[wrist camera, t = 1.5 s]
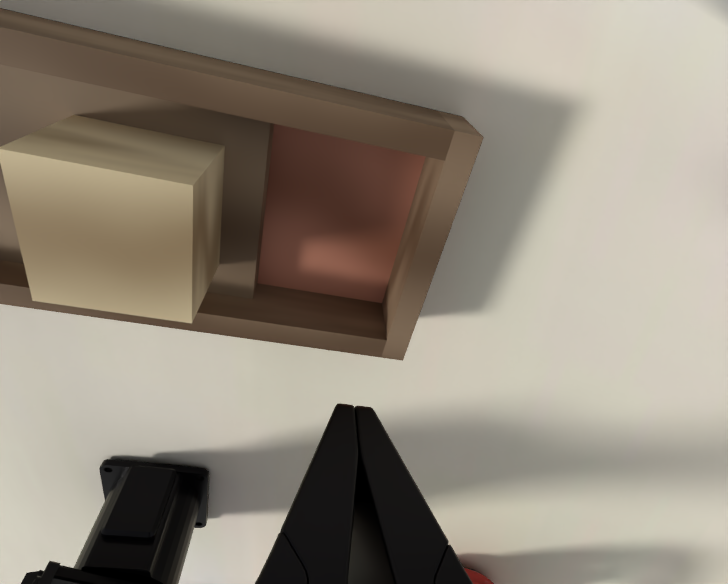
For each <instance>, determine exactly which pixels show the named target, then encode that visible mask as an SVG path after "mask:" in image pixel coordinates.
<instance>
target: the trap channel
mask: <svg viewBox="0 0 728 584" xmlns="http://www.w3.org/2000/svg"><path fill="white" fill-rule="evenodd" d="M72 115H77V116H82V117H87V118H92V119H97V120H102V121H107V122H112V123H116V124H121V125H126V126H131V127H136V128H141V129H146V130H151V131H155V132H160V133H165V134H170V135H175V136H180V137H185V138H189V139H194V140H199V141H204V142H209V143H214V144H219V145H224V146H225V152H224V174H223V195H222V216H221V237H220V258H219V266H218V268H217V270H216V273H215V275H214V277H213V279H212V281H211V283H210V285H209V288H208V290H207V292H206V294H205V296H204V298H203V301H202V303H201V305H200V307H199V309H198V311H197V313H196V316H195V318H194V320H193V322H192V323H185V322H178V321H171V320H164V319H157V318H150V317H143V316H136V315H129V314H122V313H115V312H108V311H101V310H94V309H87V308H80V307H73V306H66V305H59V304H52V303H45V302H38V301H33V300H32V296H31V292H30V288H29V283H28V279H27V275H26V271H25V266H24V262H23V258H22V253H21V249H20V245H19V241H18V236H17V232H16V228H15V224H14V219H13V215H12V211H11V207H10V202H9V198H8V194H7V189H6V185H5V181H4V177H3V172H2V168H1V164H0V304H5V305H12V306H20V307H27V308H34V309H41V310H48V311H55V312H62V313H69V314H77V315H84V316H91V317H98V318H105V319H112V320H119V321H126V322H133V323H141V324H148V325H155V326H162V327H169V328H176V329H183V330H190V331H197V332H205V333H212V334H219V335H226V336H233V337H240V338H247V339H254V340H262V341H269V342H276V343H283V344H290V345H297V346H304V347H311V348H318V349H326V350H333V351H340V352H347V353H354V354H361V355H368V356H375V357H382V358H390V359H397V360H403V358H404V356H405V353H406V350H407V347H408V344H409V342H410V339H411V336H412V333H413V331H414V328H415V325H416V322H417V320H418V317H419V314H420V311H421V309H422V306H423V303H424V300H425V298H426V295H427V292H428V289H429V287H430V284H431V281H432V278H433V275H434V273H435V270H436V267H437V264H438V262H439V259H440V256H441V253H442V251H443V248H444V245H445V242H446V240H447V237H448V234H449V231H450V229H451V226H452V223H453V220H454V217H455V215H456V212H457V209H458V206H459V204H460V201H461V198H462V195H463V193H464V190H465V187H466V184H467V182H468V179H469V176H470V173H471V171H472V168H473V165H474V162H475V160H476V157H477V154H478V151H479V148H480V146H481V143H482V140H483V136H482V135H481V134H480V133H479V132H478V131H477V130H476V129H475V128H474V127H473V126H472V125H471V124H470V123H469V122H468V121H467V120H466V119H465V118H464V117H462V116H458V115H453V114H449V113H445V112H440V111H436V110H432V109H428V108H423V107H419V106H415V105H411V104H406V103H402V102H398V101H394V100H389V99H385V98H381V97H377V96H372V95H368V94H364V93H359V92H355V91H351V90H347V89H342V88H338V87H334V86H330V85H325V84H321V83H317V82H313V81H308V80H304V79H300V78H295V77H291V76H287V75H283V74H278V73H274V72H270V71H266V70H261V69H257V68H253V67H249V66H244V65H240V64H236V63H232V62H227V61H223V60H219V59H214V58H210V57H206V56H202V55H197V54H193V53H189V52H185V51H180V50H176V49H172V48H168V47H163V46H159V45H155V44H150V43H146V42H142V41H138V40H133V39H129V38H125V37H121V36H116V35H112V34H108V33H104V32H99V31H95V30H91V29H87V28H82V27H78V26H74V25H69V24H65V23H61V22H57V21H52V20H48V19H44V18H40V17H35V16H31V15H27V14H23V13H18V12H14V11H10V10H6V9H1V8H0V147H1V146H3V145H6V144H8V143H10V142H12V141H15V140H17V139H19V138H22V137H24V136H26V135H29V134H31V133H33V132H36V131H38V130H40V129H42V128H45V127H47V126H49V125H52V124H54V123H56V122H59V121H61V120H63V119H66V118H68V117H70V116H72Z"/></svg>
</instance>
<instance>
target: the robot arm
mask: <svg viewBox="0 0 728 584" xmlns="http://www.w3.org/2000/svg"><path fill="white" fill-rule="evenodd" d="M100 475H101V480H102V486H103V492H104V497H105V503H104V505H103V507H102V509H101V511H100V513H99V515H98V517H97V519H96V522H95V524H94V526H93V528H92V530H91V532H90V534H89V536H88V538H87V541H86V543H85V545H84V547H83V549H82V551H81V553H80V555H79V557H78V560H77V562H76V564H75V566H74V568H70V567H66V566H61V565H60V563H57V562H53V561H49V563H48V565H47V567H46V569H45V570H44V571H42V570H40V571H36V572H30V573H27V574H26V575H25V577H24V579H23V581H22V583H21V584H178V583H179V579H180V576H181V572H182V569H183V565H184V562H185V558H186V554H187V551H188V547H189V544H190V540H191V537H192V533H193V530H194V528H202V527H205V526H206V523H207V517H208V496H209V475H210V473H209V471H208V470H206V469H204V468H196V467H185V466H175V465H164V464H154V463H143V462H132V461H122V460H111V459H107V460H104V461H103V462H102V464H101V466H100ZM447 545H448V540H447V538H446V536H445V534H444V533H443V531H442V529H441V527H440V526H439V524H438V522H437V520H436V519H435V517H434V515H433V513H432V512H431V510H430V508H429V506H428V505H427V503H426V501H425V499H424V497H423V496H422V494H421V492H420V490H419V489H418V487H417V485H416V483H415V482H414V480H413V478H412V476H411V475H410V473H409V471H408V469H407V468H406V466H405V464H404V462H403V461H402V459H401V457H400V455H399V453H398V452H397V450H396V448H395V446H394V445H393V443H392V441H391V439H390V438H389V436H388V434H387V432H386V431H385V429H384V427H383V425H382V424H381V422H380V420H379V418H378V416H377V415H376V413H375V411H374V410H373V409H372V408H371V407H364V406H356V407H355V408H354V406H353V405H347V404H337V405H336V406H335V409H334V411H333V413H332V415H331V418H330V420H329V422H328V424H327V427H326V429H325V431H324V433H323V436H322V438H321V440H320V442H319V445H318V447H317V449H316V451H315V454H314V456H313V458H312V460H311V463H310V465H309V467H308V470H307V472H306V474H305V476H304V479H303V481H302V483H301V485H300V488H299V490H298V492H297V494H296V497H295V499H294V501H293V503H292V506H291V508H290V510H289V512H288V515H287V517H286V519H285V521H284V524H283V526H282V528H281V532H280V533H279V534H278V537H277V539H276V541H275V543H274V546H273V548H272V550H271V552H270V554H269V557H268V559H267V561H266V563H265V565H264V567H263V569H262V571H261V573H260V575H259V577H258V579H257V581H256V583H255V584H473V583H472V581H471V579H470V578H469V576H468V574H467V573H466V571H465V569H464V568H463V566H462V564H461V563H460V561H459V559H458V557H457V555H456V554H455V552H454V550H453V548H452V547H451V545H448V546H447Z"/></svg>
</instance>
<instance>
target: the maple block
mask: <svg viewBox="0 0 728 584" xmlns="http://www.w3.org/2000/svg"><path fill="white" fill-rule="evenodd" d="M224 152H225V146H224V145H219V144H214V143H209V142H204V141H199V140H194V139H189V138H185V137H180V136H175V135H170V134H165V133H160V132H155V131H151V130H146V129H141V128H136V127H131V126H126V125H121V124H116V123H112V122H107V121H102V120H97V119H92V118H87V117H82V116H77V115H72V116H70V117H68V118H66V119H63V120H61V121H59V122H56V123H54V124H52V125H49V126H47V127H45V128H42V129H40V130H38V131H36V132H33V133H31V134H29V135H26V136H24V137H22V138H19V139H17V140H15V141H12V142H10V143H8V144H6V145H3V146H1V147H0V164H1V168H2V172H3V177H4V181H5V185H6V189H7V194H8V198H9V202H10V207H11V211H12V215H13V219H14V224H15V228H16V232H17V236H18V241H19V245H20V249H21V253H22V258H23V262H24V266H25V271H26V275H27V279H28V283H29V288H30V292H31V296H32V300H33V301H38V302H45V303H52V304H59V305H66V306H73V307H80V308H87V309H94V310H101V311H108V312H115V313H122V314H129V315H136V316H143V317H150V318H157V319H164V320H171V321H178V322H185V323H192V322H193V320H194V318H195V316H196V313H197V311H198V309H199V307H200V305H201V303H202V301H203V298H204V296H205V294H206V292H207V290H208V288H209V285H210V283H211V281H212V279H213V277H214V275H215V273H216V270H217V268H218V266H219V258H220V237H221V216H222V195H223V174H224Z"/></svg>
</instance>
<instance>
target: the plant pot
mask: <svg viewBox="0 0 728 584" xmlns="http://www.w3.org/2000/svg"><path fill="white" fill-rule="evenodd" d="M464 569H465V571H466V573H467V574H468V576H469V578H470V579H471V581H472V583H473V584H494V583H493V582H492V581H490V580H489V579H488V578H487V577H485V576H484V575H482V574H480V573H478V572H476V571H474V570H470V569H467V568H464Z"/></svg>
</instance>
